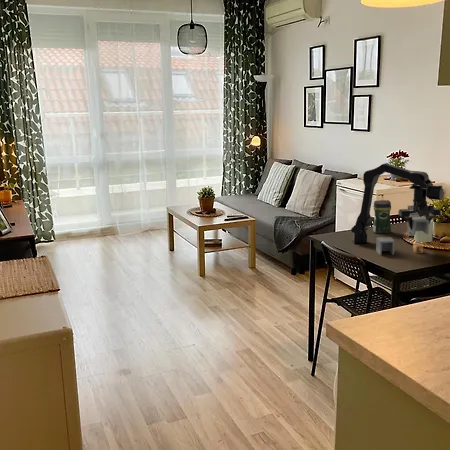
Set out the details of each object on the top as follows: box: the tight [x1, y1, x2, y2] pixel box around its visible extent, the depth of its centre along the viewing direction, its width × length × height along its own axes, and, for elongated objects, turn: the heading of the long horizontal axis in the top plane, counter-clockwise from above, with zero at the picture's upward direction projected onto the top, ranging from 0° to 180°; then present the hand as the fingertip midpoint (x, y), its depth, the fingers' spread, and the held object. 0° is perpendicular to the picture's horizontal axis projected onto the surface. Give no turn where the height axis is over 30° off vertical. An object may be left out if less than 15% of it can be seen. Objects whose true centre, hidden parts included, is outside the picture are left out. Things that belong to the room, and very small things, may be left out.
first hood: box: [375, 236, 396, 256], centre depth 254 cm, size 7×7×7 cm
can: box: [413, 219, 434, 244], centre depth 270 cm, size 9×9×12 cm
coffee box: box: [406, 205, 421, 237], centre depth 281 cm, size 9×6×16 cm
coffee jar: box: [372, 199, 392, 234], centre depth 290 cm, size 10×8×19 cm
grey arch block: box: [409, 216, 429, 235], centre depth 251 cm, size 7×7×7 cm
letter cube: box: [412, 243, 424, 254], centre depth 253 cm, size 4×4×4 cm
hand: (418, 229), depth 252 cm, fingers closed on grey arch block, 7 cm apart
